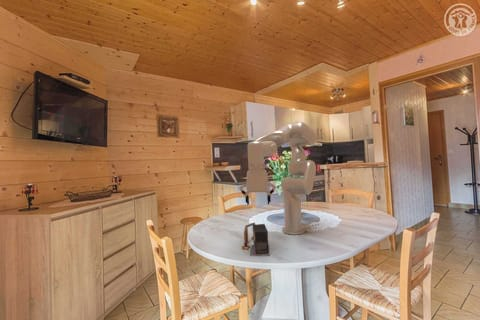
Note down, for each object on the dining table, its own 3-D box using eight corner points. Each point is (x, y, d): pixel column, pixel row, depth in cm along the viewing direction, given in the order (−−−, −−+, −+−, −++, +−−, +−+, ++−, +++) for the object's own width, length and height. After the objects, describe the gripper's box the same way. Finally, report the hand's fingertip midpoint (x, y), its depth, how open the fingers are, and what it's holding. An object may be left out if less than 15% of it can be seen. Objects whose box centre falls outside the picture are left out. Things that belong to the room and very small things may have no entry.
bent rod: (259, 237, 124) (258, 221, 124) (248, 250, 109) (247, 231, 109) (251, 236, 126) (250, 220, 126) (238, 248, 111) (238, 230, 111)
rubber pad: (269, 245, 113) (269, 244, 113) (270, 255, 102) (270, 254, 102) (251, 245, 114) (251, 244, 114) (250, 255, 103) (250, 254, 103)
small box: (252, 245, 113) (251, 224, 113) (265, 244, 113) (264, 223, 113) (255, 254, 103) (253, 231, 102) (269, 253, 103) (268, 230, 103)
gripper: (274, 166, 110) (276, 201, 111) (239, 168, 112) (240, 202, 112) (275, 167, 103) (277, 205, 103) (237, 169, 104) (239, 206, 105)
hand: (258, 203), depth 108 cm, fingers open, 9 cm apart
